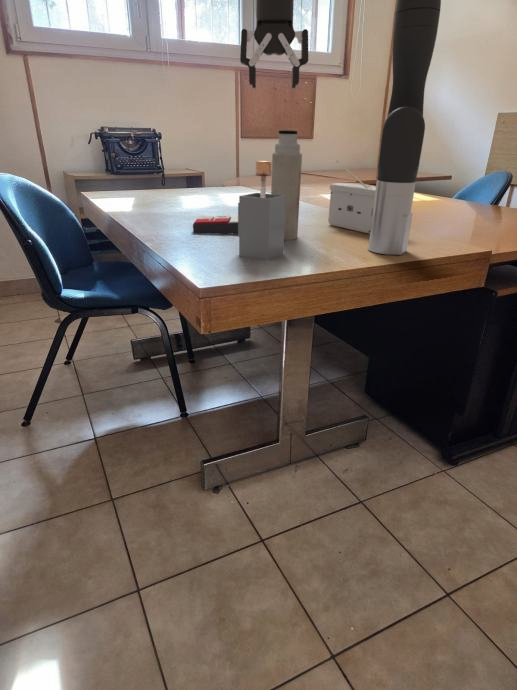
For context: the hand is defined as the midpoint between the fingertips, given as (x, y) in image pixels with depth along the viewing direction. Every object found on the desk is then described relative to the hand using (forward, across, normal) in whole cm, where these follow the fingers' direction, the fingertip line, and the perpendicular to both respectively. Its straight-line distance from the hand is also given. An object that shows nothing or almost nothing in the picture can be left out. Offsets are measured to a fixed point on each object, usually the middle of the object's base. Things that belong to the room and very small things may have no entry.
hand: (273, 88), depth 98 cm
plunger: (+34, +2, +1) cm, 35 cm away
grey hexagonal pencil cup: (+36, +3, +1) cm, 36 cm away
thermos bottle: (+36, -4, -20) cm, 42 cm away
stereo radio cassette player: (+37, -29, -34) cm, 58 cm away
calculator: (+36, +14, -29) cm, 48 cm away
